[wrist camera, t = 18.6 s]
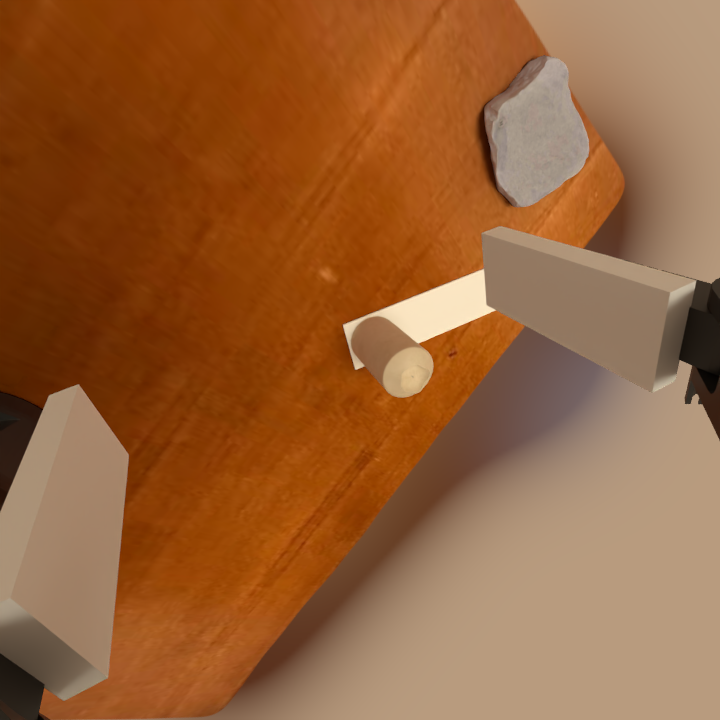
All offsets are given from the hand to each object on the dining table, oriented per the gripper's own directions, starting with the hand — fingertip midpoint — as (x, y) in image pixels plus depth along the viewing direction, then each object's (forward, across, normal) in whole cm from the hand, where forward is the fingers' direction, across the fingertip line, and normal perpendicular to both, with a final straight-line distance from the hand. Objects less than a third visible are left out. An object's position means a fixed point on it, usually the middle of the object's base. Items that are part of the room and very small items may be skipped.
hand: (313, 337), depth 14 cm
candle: (+29, +11, -18) cm, 36 cm away
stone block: (+29, +32, -3) cm, 43 cm away
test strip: (+29, +18, -18) cm, 38 cm away
